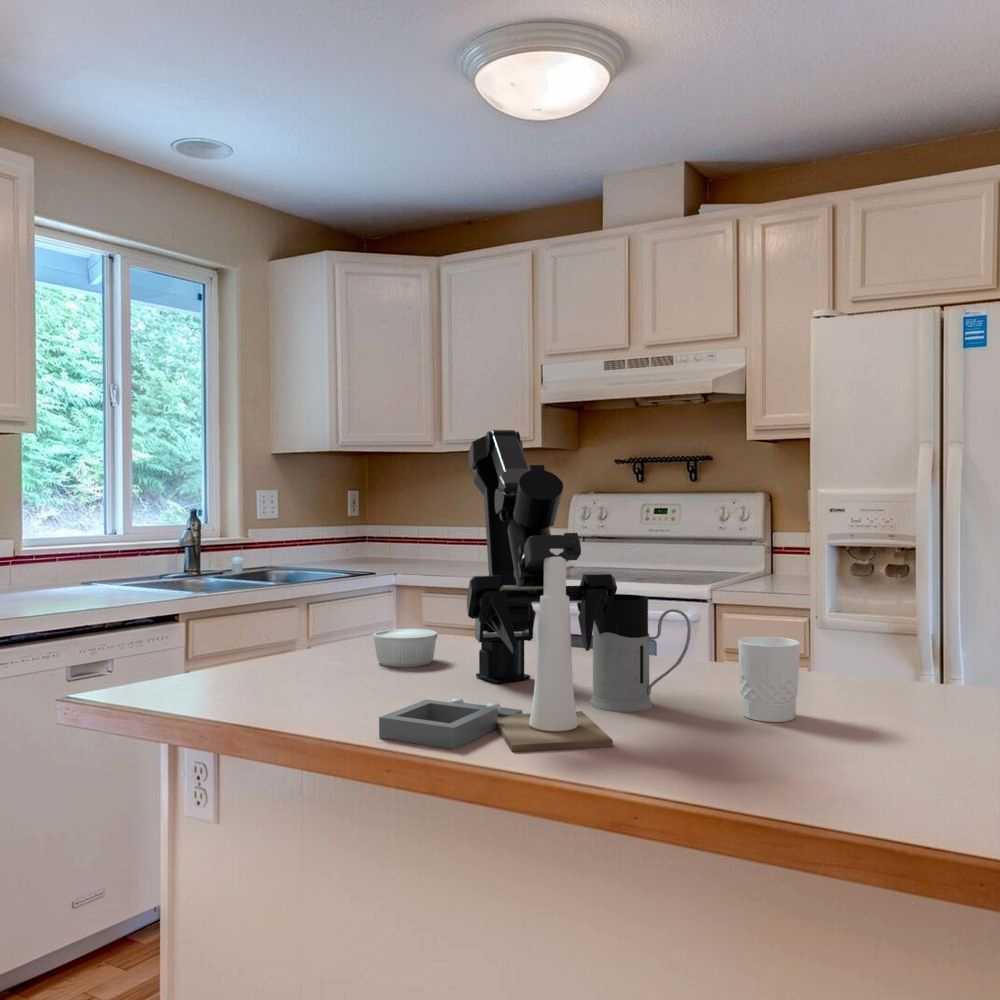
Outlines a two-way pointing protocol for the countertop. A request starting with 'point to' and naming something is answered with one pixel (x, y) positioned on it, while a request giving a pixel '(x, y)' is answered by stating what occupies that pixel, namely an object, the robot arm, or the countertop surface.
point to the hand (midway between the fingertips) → (551, 650)
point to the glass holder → (625, 655)
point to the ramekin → (405, 647)
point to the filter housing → (442, 722)
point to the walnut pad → (550, 734)
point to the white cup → (769, 677)
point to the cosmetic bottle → (554, 654)
